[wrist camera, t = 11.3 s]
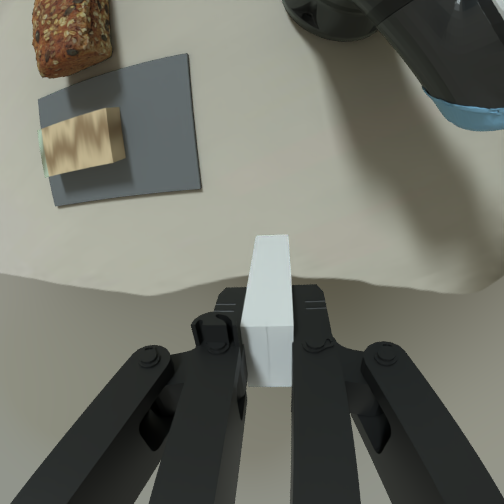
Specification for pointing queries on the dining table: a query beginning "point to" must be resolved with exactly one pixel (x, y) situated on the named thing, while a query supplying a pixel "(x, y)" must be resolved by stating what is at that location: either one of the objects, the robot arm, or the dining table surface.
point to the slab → (82, 142)
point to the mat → (132, 131)
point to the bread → (70, 35)
